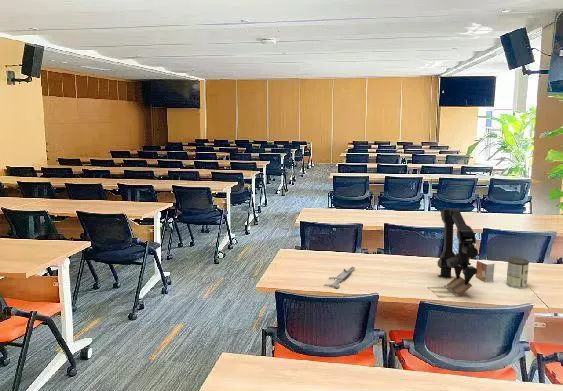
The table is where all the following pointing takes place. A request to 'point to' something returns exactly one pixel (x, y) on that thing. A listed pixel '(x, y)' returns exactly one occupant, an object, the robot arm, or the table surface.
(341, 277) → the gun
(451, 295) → the base leaf
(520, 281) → the coffee can
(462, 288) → the leaf
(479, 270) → the small box
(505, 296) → the table surface
